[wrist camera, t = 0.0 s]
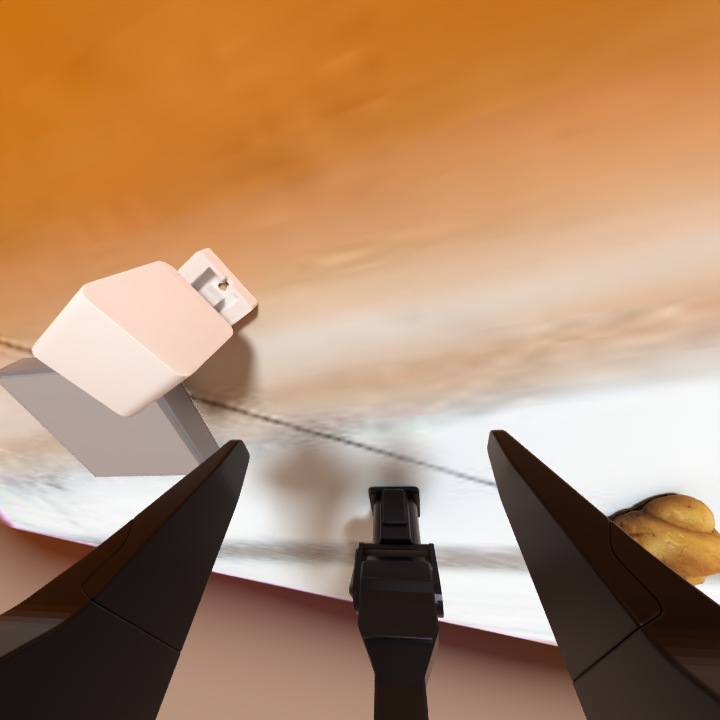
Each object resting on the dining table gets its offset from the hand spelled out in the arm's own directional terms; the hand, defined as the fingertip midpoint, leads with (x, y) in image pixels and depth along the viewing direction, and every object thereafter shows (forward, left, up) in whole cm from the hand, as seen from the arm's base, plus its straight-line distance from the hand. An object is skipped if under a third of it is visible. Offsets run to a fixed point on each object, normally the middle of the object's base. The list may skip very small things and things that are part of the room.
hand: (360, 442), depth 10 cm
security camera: (+2, +14, -15) cm, 21 cm away
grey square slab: (-10, +29, -15) cm, 34 cm away
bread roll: (-32, -32, -15) cm, 48 cm away
